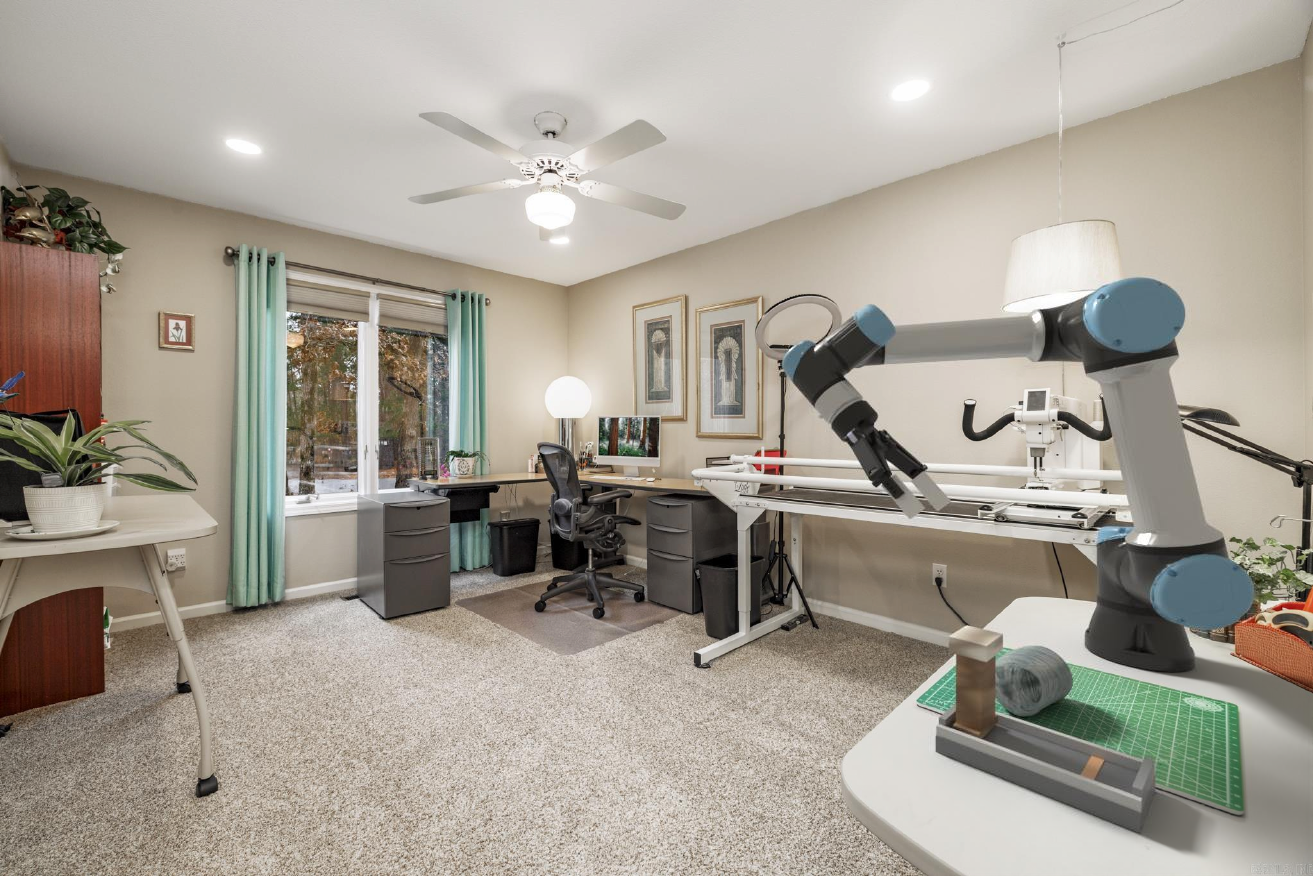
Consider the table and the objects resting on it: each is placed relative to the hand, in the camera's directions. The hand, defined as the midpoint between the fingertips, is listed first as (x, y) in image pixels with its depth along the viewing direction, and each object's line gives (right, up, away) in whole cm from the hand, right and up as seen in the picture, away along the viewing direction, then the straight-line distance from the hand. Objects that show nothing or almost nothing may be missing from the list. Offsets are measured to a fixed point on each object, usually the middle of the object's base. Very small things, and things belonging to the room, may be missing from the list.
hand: (931, 510), depth 91 cm
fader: (-3, -26, -18) cm, 31 cm away
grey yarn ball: (+11, -28, -7) cm, 31 cm away
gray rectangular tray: (+2, -28, -23) cm, 36 cm away
